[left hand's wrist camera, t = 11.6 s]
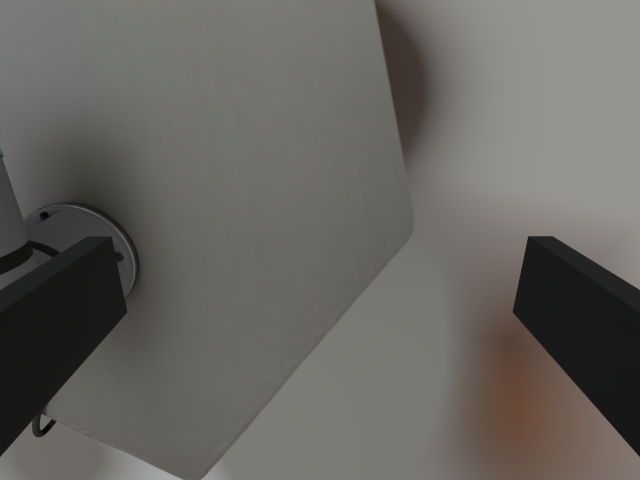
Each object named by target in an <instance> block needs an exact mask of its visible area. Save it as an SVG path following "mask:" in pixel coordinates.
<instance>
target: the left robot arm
mask: <svg viewBox="0 0 640 480" xmlns="http://www.w3.org/2000/svg"><path fill="white" fill-rule="evenodd" d="M2 157H4V155H3V152H2V150H1V149H0V457H1V455H2V454H3V453H4V452H5V451H6V450H7V449H8V447H9V446H10V445H11V444H12V443H13V442H14V441H15V439H16V438H17V437H18V436H19V435H20V434H21V433H22V431H23V430H24V429H25V428H26V427H27V426H28V425H29V423H30V422H31V421H32V420H33V423H32V431H33V434H34V435H35V436H36V437H42V436H44V435H45V434H46V433H48V432H49V431H50V429H51V428H52V427H53V426H54V425H55V423H56V422H57V421H55V420H53V419H51V420H50V422H49V423H48V424H47V425H46V426H45V427H44V428H43V429H42V430H40V417H41V412H42V409H43V408H44V406H45V405H46V404H47V403H48V402H49V401H50V400H51V398H52V397H53V396H54V395H55V394H56V393H57V392H58V391H59V389H60V388H61V387H62V386H63V385H64V384H65V383H66V381H67V380H68V379H69V378H70V377H71V376H72V375H73V373H74V372H75V371H76V370H77V369H78V368H79V367H80V365H81V364H82V363H83V362H84V361H85V360H86V359H87V358H88V356H89V355H90V354H91V353H92V352H93V351H94V350H95V348H96V347H97V346H98V345H99V344H100V343H101V342H102V340H103V339H104V338H105V337H106V336H107V335H108V334H109V333H110V331H111V330H112V329H113V328H114V327H115V326H116V325H117V323H118V322H119V321H120V320H121V319H122V318H123V317H124V315H125V314H126V313H127V308H126V303H125V299H124V298H125V297H126V296H127V295H128V294H129V293H130V291H131V290H132V289H133V287H134V285H135V283H136V280H137V276H138V257H137V253H136V250H135V248H134V245H133V243H132V241H131V240H130V238H129V236H128V235H127V233H126V232H125V231H124V230H123V229H122V227H121V226H120V225H119V224H118V223H116V222H115V221H114V220H113V219H112V218H110V217H109V216H107V215H106V214H104V213H103V212H101V211H99V210H97V209H94V208H92V207H89V206H86V205H82V204H78V203H56V204H52V205H48V206H46V207H43V208H41V209H38V210H36V211H34V212H33V213H31V214H30V215H28V216H27V217H25V218H24V219H23V218H22V215H21V212H20V209H19V207H18V204H17V201H16V198H15V195H14V192H13V189H12V186H11V183H10V180H9V177H8V174H7V171H6V168H5V165H4V162H3V159H2ZM513 313H514V314H515V315H516V317H517V318H518V319H519V320H520V321H521V322H522V323H523V325H524V326H525V327H526V328H527V329H528V330H529V331H530V332H531V334H532V335H533V336H534V337H535V338H536V339H537V340H538V342H539V343H540V344H541V345H542V346H543V347H544V348H545V350H546V351H547V352H548V353H549V354H550V355H551V356H552V358H553V359H554V360H555V361H556V362H557V363H558V364H559V365H560V367H561V368H562V369H563V370H564V371H565V372H566V373H567V375H568V376H569V377H570V378H571V379H572V380H573V381H574V383H575V384H576V385H577V386H578V387H579V388H580V389H581V391H582V392H583V393H584V394H585V395H586V396H587V397H588V398H589V400H590V401H591V402H592V403H593V404H594V405H595V406H596V408H597V409H598V410H599V411H600V412H601V413H602V414H603V416H604V417H605V418H606V419H607V420H608V421H609V422H610V423H611V425H612V426H613V427H614V428H615V429H616V430H617V431H618V433H619V434H620V435H621V436H622V437H623V438H624V439H625V441H626V442H627V443H628V444H629V445H630V446H631V447H632V449H633V450H634V451H635V452H636V453H637V454H638V455H639V456H640V290H639V289H637V288H636V287H634V286H632V285H631V284H629V283H628V282H626V281H624V280H623V279H621V278H619V277H618V276H616V275H615V274H613V273H611V272H610V271H608V270H606V269H605V268H603V267H602V266H600V265H598V264H597V263H595V262H593V261H592V260H590V259H589V258H587V257H585V256H584V255H582V254H581V253H579V252H577V251H576V250H574V249H572V248H571V247H569V246H568V245H566V244H564V243H563V242H561V241H559V240H558V239H556V238H555V237H553V236H529V237H528V241H527V245H526V250H525V255H524V260H523V265H522V269H521V274H520V279H519V284H518V289H517V294H516V299H515V303H514V308H513Z"/></svg>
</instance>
